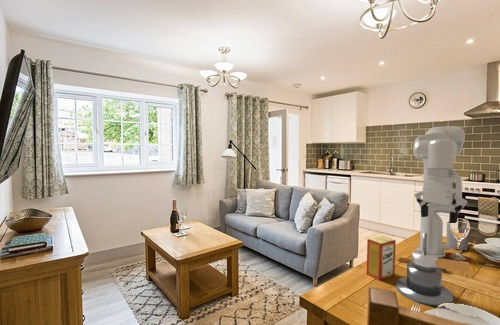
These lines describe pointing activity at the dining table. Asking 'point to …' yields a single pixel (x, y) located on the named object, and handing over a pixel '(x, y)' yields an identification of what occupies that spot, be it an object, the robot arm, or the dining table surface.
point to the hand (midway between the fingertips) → (438, 219)
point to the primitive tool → (411, 261)
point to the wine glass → (453, 242)
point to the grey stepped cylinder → (424, 287)
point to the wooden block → (435, 261)
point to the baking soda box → (381, 257)
